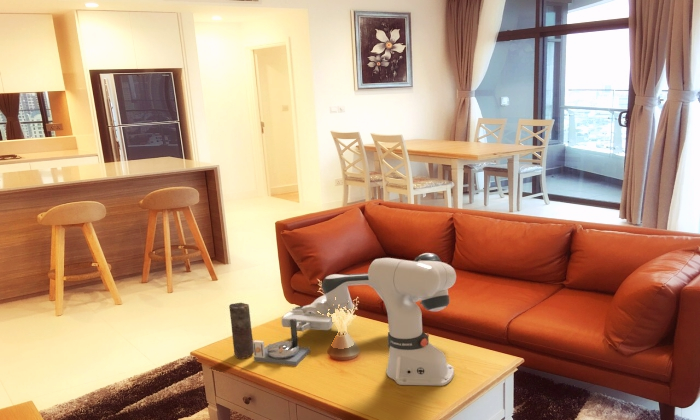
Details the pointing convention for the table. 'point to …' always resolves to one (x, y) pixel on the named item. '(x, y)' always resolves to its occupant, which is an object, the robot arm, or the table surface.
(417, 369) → the robot arm
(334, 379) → the table surface
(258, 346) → the stand
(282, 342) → the grey disc with rod
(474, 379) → the table surface
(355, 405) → the table surface
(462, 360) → the table surface
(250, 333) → the candle
